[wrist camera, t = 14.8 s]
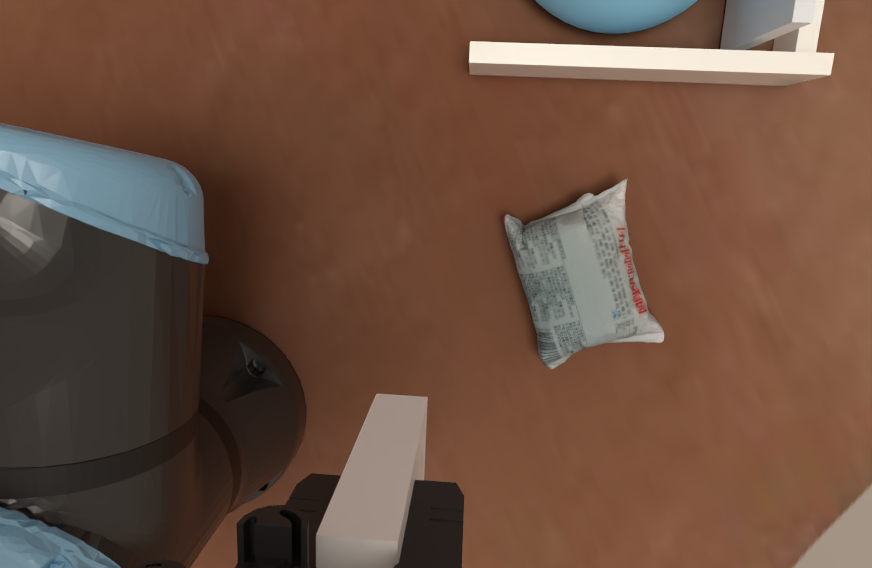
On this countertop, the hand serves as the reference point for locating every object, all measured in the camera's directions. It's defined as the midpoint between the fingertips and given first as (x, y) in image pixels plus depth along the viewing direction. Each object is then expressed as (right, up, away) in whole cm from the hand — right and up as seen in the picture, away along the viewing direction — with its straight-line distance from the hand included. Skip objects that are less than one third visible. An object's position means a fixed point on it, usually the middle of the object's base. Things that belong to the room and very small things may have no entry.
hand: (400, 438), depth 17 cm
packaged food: (+12, +5, +26) cm, 29 cm away
